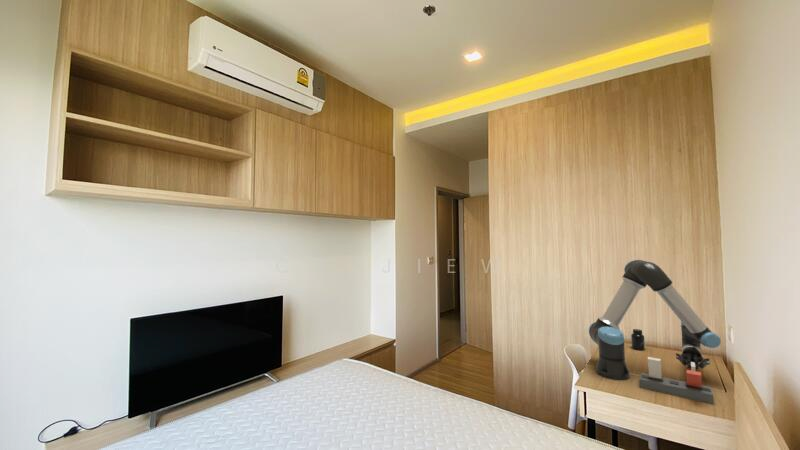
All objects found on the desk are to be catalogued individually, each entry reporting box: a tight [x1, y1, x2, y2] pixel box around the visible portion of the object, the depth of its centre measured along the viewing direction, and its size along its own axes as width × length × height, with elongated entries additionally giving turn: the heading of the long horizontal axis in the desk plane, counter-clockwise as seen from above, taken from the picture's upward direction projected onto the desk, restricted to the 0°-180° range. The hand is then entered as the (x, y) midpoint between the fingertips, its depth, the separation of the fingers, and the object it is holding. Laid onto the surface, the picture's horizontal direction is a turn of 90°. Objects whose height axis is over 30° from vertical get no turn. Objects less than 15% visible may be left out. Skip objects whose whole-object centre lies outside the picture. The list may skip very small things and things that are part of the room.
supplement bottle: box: [630, 328, 646, 351], centre depth 208 cm, size 7×7×12 cm
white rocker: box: [647, 356, 663, 379], centre depth 157 cm, size 5×2×10 cm, turn 50°
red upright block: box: [686, 369, 702, 388], centre depth 147 cm, size 5×2×10 cm
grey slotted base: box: [639, 372, 715, 405], centre depth 154 cm, size 26×9×4 cm, turn 50°
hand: (693, 369), depth 151 cm, fingers closed
